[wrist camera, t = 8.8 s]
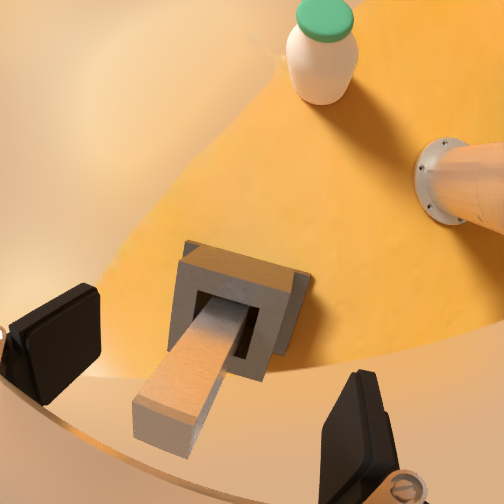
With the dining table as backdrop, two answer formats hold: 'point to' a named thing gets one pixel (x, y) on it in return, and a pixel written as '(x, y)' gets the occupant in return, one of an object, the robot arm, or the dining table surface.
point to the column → (189, 379)
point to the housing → (240, 290)
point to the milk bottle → (322, 51)
